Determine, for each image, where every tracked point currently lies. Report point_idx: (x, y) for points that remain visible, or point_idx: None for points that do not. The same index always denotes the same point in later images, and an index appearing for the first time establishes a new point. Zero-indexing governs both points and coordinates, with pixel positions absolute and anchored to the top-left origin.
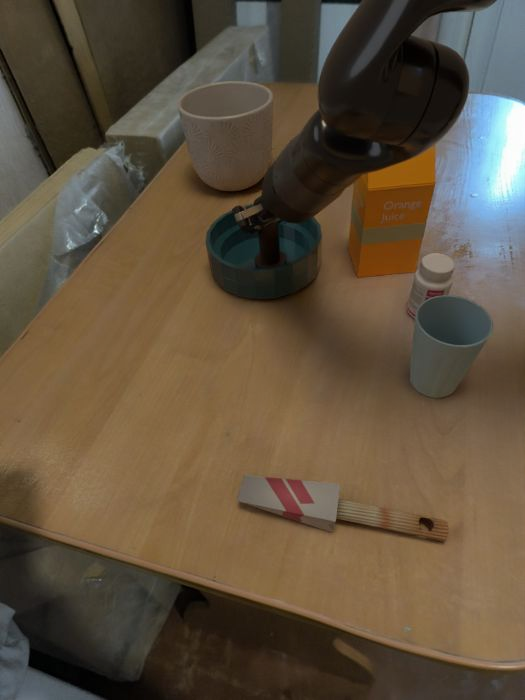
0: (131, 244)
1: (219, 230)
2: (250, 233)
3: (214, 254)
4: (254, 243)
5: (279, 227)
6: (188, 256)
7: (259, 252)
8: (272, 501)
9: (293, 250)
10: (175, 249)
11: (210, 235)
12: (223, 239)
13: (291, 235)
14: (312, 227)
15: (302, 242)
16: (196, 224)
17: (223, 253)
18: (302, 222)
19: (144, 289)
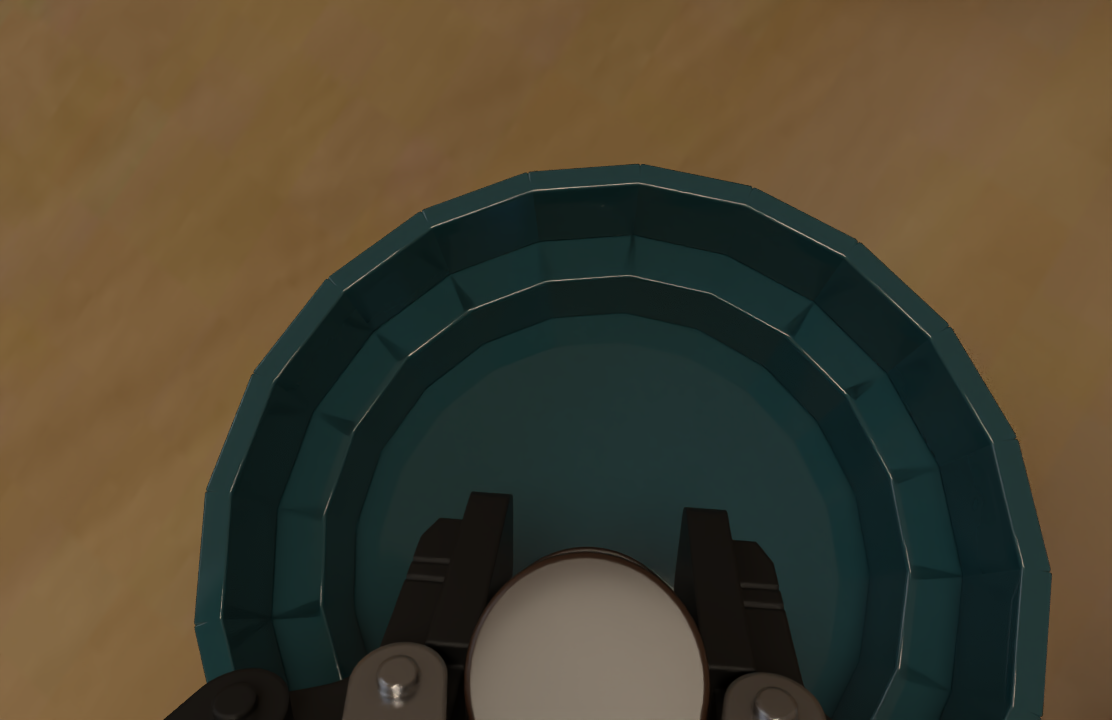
0: (177, 10)
1: (456, 253)
2: (655, 305)
3: (214, 530)
4: (646, 365)
5: (818, 385)
6: (328, 236)
7: (567, 549)
8: None
9: (803, 563)
10: (310, 153)
11: (330, 317)
12: (456, 312)
13: (855, 465)
14: (986, 622)
15: (879, 569)
16: (500, 40)
17: (436, 367)
18: (959, 493)
19: (26, 335)
